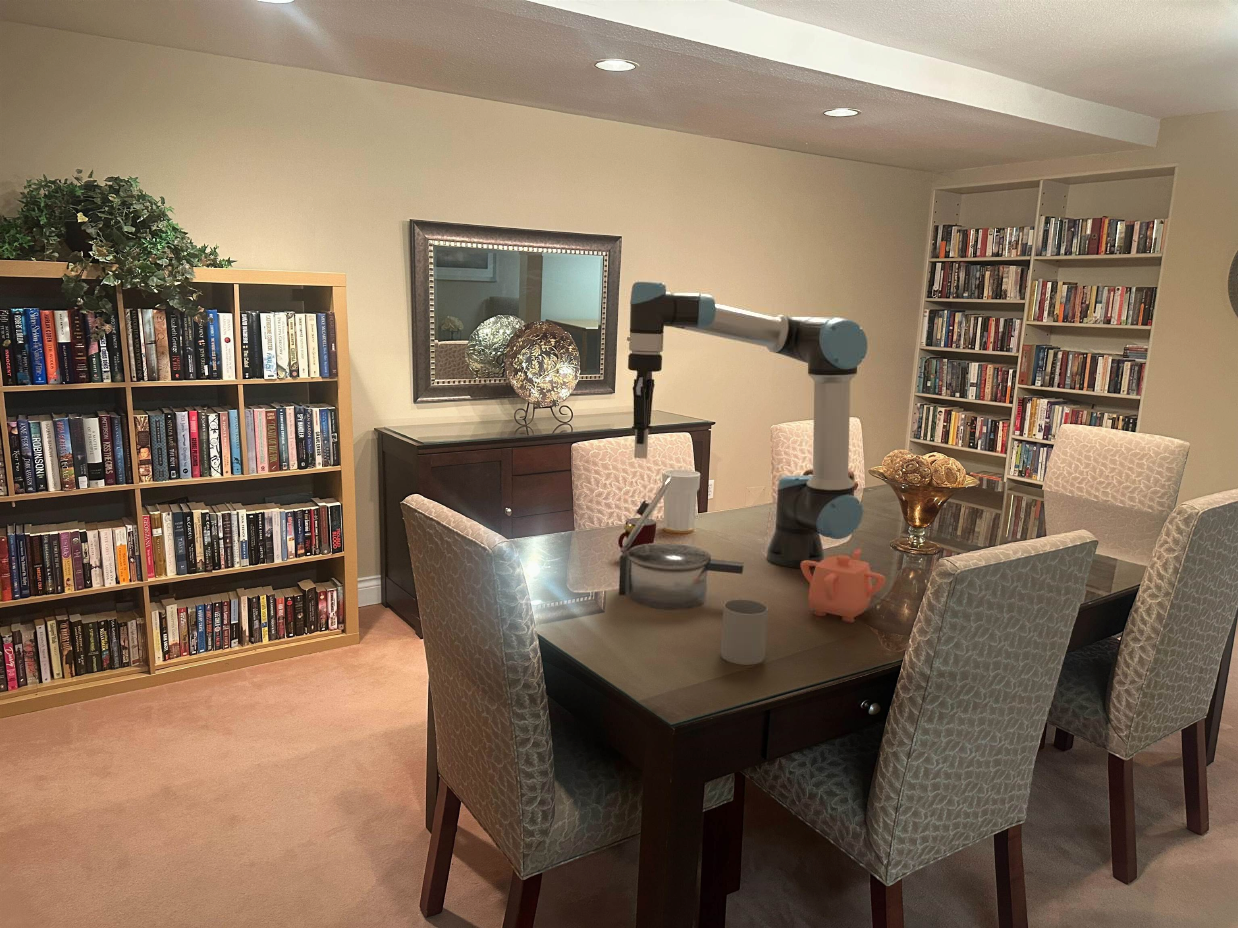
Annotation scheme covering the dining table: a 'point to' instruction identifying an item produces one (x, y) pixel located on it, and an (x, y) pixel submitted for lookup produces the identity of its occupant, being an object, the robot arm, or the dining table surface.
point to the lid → (645, 514)
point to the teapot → (841, 585)
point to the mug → (640, 533)
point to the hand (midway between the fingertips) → (640, 457)
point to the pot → (669, 574)
